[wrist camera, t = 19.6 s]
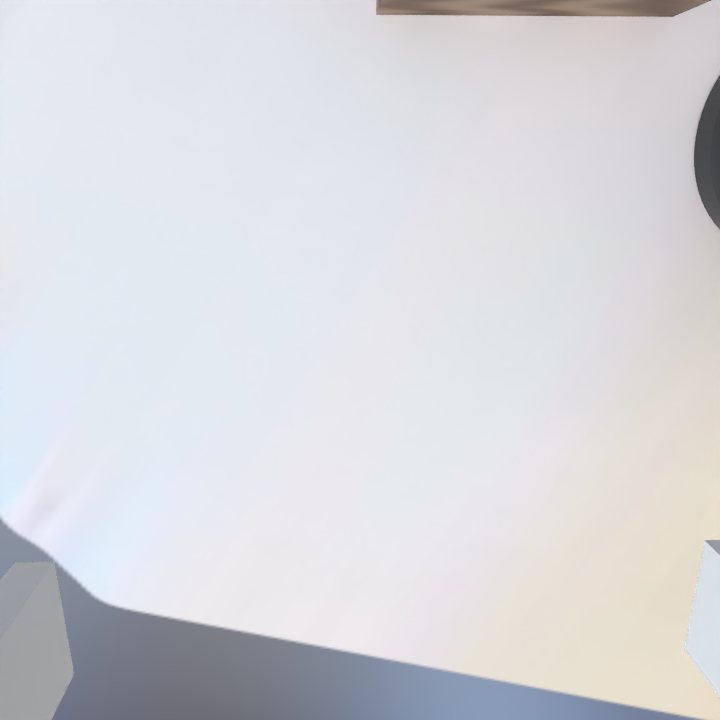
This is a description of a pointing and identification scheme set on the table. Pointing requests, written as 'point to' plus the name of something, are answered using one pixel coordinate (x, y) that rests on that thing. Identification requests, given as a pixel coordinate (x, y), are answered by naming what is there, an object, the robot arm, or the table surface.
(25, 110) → the table surface
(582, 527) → the table surface
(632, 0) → the walnut riser
